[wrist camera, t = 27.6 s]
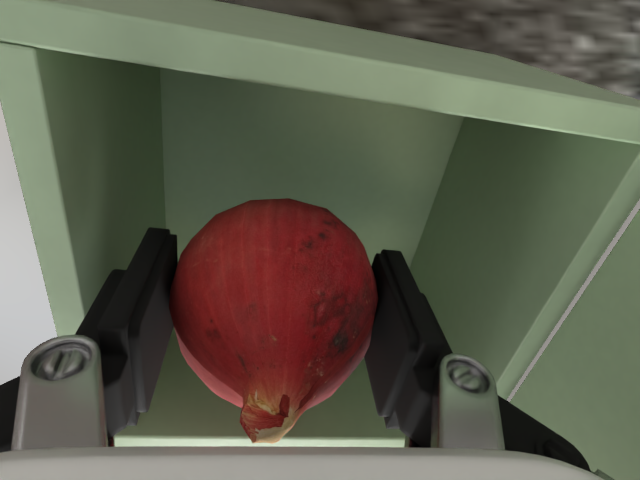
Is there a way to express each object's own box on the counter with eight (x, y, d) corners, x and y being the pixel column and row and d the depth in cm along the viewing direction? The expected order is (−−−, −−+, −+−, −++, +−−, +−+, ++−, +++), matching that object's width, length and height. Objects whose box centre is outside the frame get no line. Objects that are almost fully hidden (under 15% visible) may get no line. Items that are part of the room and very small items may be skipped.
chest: (156, 275, 22) (84, 450, 14) (140, -15, 15) (-30, -14, 7) (406, 293, 24) (473, 451, 16) (495, 54, 17) (694, 117, 9)
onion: (322, 131, 13) (374, 289, 6) (372, 262, 16) (443, 462, 9) (163, 195, 14) (55, 401, 7) (241, 309, 17) (218, 528, 10)
